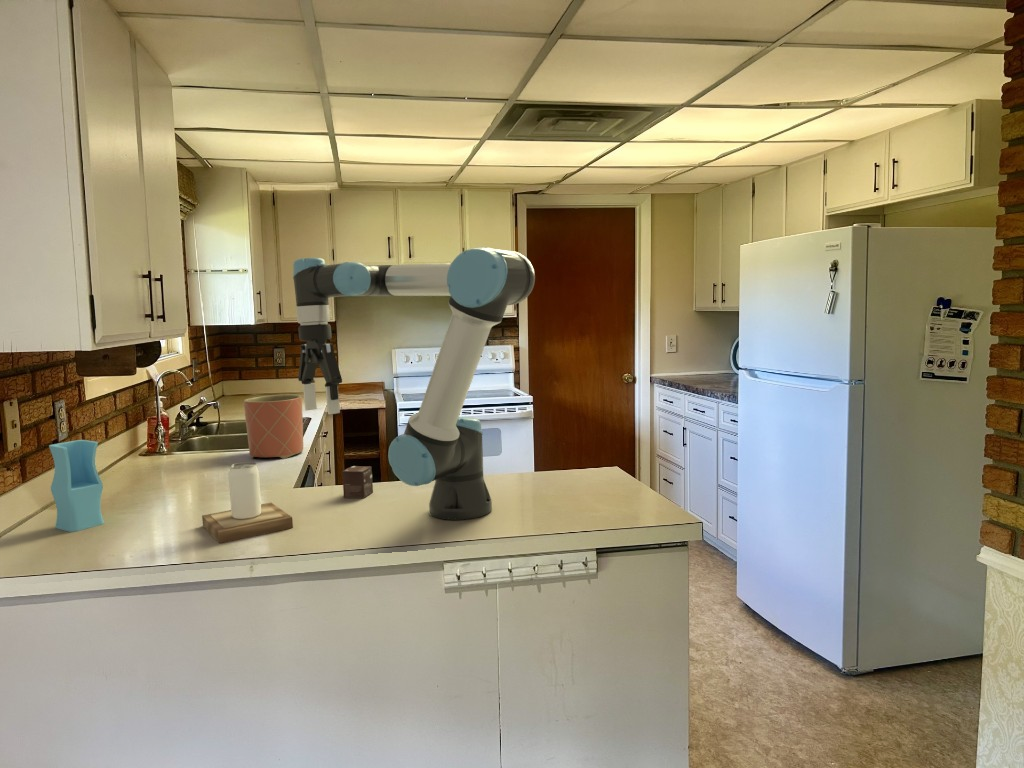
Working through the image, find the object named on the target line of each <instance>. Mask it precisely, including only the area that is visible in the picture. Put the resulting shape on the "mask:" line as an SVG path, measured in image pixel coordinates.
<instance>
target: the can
mask: <svg viewBox="0 0 1024 768" xmlns="http://www.w3.org/2000/svg"><path fill="white" fill-rule="evenodd" d="M259 473H260V472H259V468H258V467H257V463H256V462H251V461H250V462H249V461H247V462H246V461H244V462H238V463H233V464H231V465H230V466H229V471H228V484H229V486H228V487H229V496H230V510H231V512H232V517H233V518H234V519H239V520H243V519H251V518H255V517H257V516H259V515H260V514H261V504H262V501H261V487H260V486H261V485H260V474H259Z"/></svg>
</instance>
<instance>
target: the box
mask: <svg viewBox="0 0 1024 768" xmlns="http://www.w3.org/2000/svg"><path fill="white" fill-rule="evenodd" d="M372 469H373V468H372V466H371V465H369V466H363V465H362V466H359V465H353V466H352V465H351V466H350V467H347V468H346V469H344V470H342V471H341V472H342V475H341V476H342V488H343V489H342V490H343V498H344V499H347V498H348V499H365V498H367V497H368V496H370V495H372V494H373V493H374V487H373V486H374V483H373V471H372Z"/></svg>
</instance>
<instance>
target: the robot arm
mask: <svg viewBox="0 0 1024 768" xmlns="http://www.w3.org/2000/svg"><path fill="white" fill-rule="evenodd" d="M292 266H293V267H292V270H293V271H292V272H293V273H292V275H293V276H292V279H293V285H294V291H295V292H294V294H295V295H294V296H295V303H296V304H295V305H296V306H295V307H296V309H295V311H296V320H297V323H298V324H300V325H299V326H298V337H299V341H300V342H306V343H305V344H300V358H299V368H298V376H297V377H298V379H297V380H298V382H301V385H302V390H303V399H304V410H305V411H314V410H318V408H317V407H318V405H317V398H316V397H317V395H316V386H315V383H316V381H315V378H314V377H315V374H316V369H317V365H318V367H319V369H320V372H321V373H322V377H323V378H324V381H325V384H324V387H325V394H326V395H325V397H326V408H327V414H328V415H336V414H340V413H341V409H340V397H339V385H340V384H342V383H343V377H342V375H341V372H340V368H339V365H338V361H337V359H336V355H335V350H334V344H333V343H331V342H330V343H327V340H331V339H332V335H333V334H332V327H331V325H330V323H328V322H330V321H331V317H330V313H331V312H332V311H331V309H330V304H329V298H338V297H339V298H340V297H395V296H396V297H398V296H400V297H408V296H409V297H414V296H417V297H424V296H426V297H433V296H434V297H448V296H449V300H448V306H449V308H450V310H451V312H452V313H451V314H452V315H451V316H450V320H449V323H448V326H447V328H446V332H445V334H444V338H443V341H442V343H441V347H440V348H439V351H438V355H437V358H436V360H435V364H434V366H433V369H432V373H431V375H430V378H429V381H428V385H427V387H426V389H425V393H424V396H423V399H422V402H421V404H420V407H419V411H418V412H417V413H414V414H412V415H410V416H409V418H408V421H407V424H406V427H405V430H404V433H403V434H400V435H397V436H396V437H395V438H394V439H393V440H392V441H391V443H390V445H389V447H388V452H387V454H388V455H387V457H388V462H389V465H390V466H391V468H392V469H391V470H392V472H393V474H394V475H395V476H396V477H397V478H398V479H399V480H400V481H401V482H402V483H403V484H406V485H408V486H413V487H419V486H422V485H428V484H431V483H432V482H434V484H433V488H432V493H431V496H430V499H429V503H428V507H429V510H428V511H429V514H430V515H431V516H432V517H434V518H437V519H442V520H453V521H455V520H459V521H460V520H470V519H471V520H472V519H476V518H480V517H484V516H485V515H488V514H490V512H492V510H493V503H492V502H493V500H492V497H491V495H490V492H489V489H488V486H487V483H486V481H485V478H484V456H483V454H484V452H483V451H484V450H483V449H484V448H483V435H484V433H483V431H482V422H481V421H480V420H479V419H478V418H477V417H472V416H471V417H470V416H468V417H467V416H460V415H461V412H462V409H463V407H464V403H465V401H466V398H467V395H468V392H469V390H470V387H471V384H472V382H473V378H474V376H475V373H476V371H477V368H478V365H479V362H480V360H481V356H482V354H483V351H484V349H485V347H486V346H485V345H486V344H487V340H488V337H489V335H490V332H491V330H492V328H493V327H494V326H496V325H498V324H500V323H502V321H503V317H504V315H505V313H506V310H507V307H508V306H513V305H517V304H519V303H521V302H523V301H525V300H526V299H527V298H528V297H529V296H530V294H531V293H532V291H533V289H534V286H535V281H536V274H535V269H534V267H533V265H532V263H531V261H530V260H529V259H528V258H527V257H526V256H525V255H523V254H522V253H520V252H518V251H516V250H515V251H514V250H507V249H506V250H505V249H497V248H491V247H487V246H482V247H474V248H468V249H466V250H464V251H462V252H460V253H459V254H458V255H457V256H456V257H455V258H454V259H453V260H452V262H446V263H444V262H443V263H442V262H441V263H414V264H409V263H408V264H377V265H376V264H363V263H362V262H359V261H358V262H357V261H345V262H342V263H335V264H329V265H328V264H327V265H326V261H325V258H321V257H306V258H303V257H302V258H297V259H295V260H294V261H293V263H292Z"/></svg>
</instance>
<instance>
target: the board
mask: <svg viewBox="0 0 1024 768" xmlns="http://www.w3.org/2000/svg"><path fill="white" fill-rule="evenodd" d="M201 518H202V520H201V521H202V526H203V528H204V529H206V531H207V532H208V533H209V534H210V535H211V536H212V537H213V538H214V539H215V541H216V542H217V543H218V544H223V543H228V542H232V541H233V542H234V541H237V540H242V539H243V540H244V539H247V538H252V537H255V536H260V535H264V534H265V535H266V534H271V533H275V532H279V531H283V530H289V529H293V528H294V524H293V523H294V522H293V516H292V515H290V514H288V513H287V512H286V511H284V510H283V509H281V508H280V507H278V506H277V505H276V504H274V503H272V502H267V503H261V514H260V515H259V516H257V517H255V518H251V519H243V520H239V519H234V518H233V517H232V512H231V509H230V510H225V511H219V512H214V513H208V514H203V515H201Z"/></svg>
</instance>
